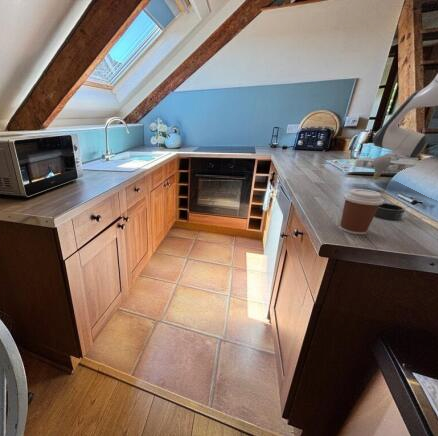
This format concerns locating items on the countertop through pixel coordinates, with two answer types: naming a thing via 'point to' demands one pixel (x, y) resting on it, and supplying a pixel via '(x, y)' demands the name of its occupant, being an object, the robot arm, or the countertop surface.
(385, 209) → the dark round bowl
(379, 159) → the light bulb
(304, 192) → the countertop surface
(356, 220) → the coffee cup
